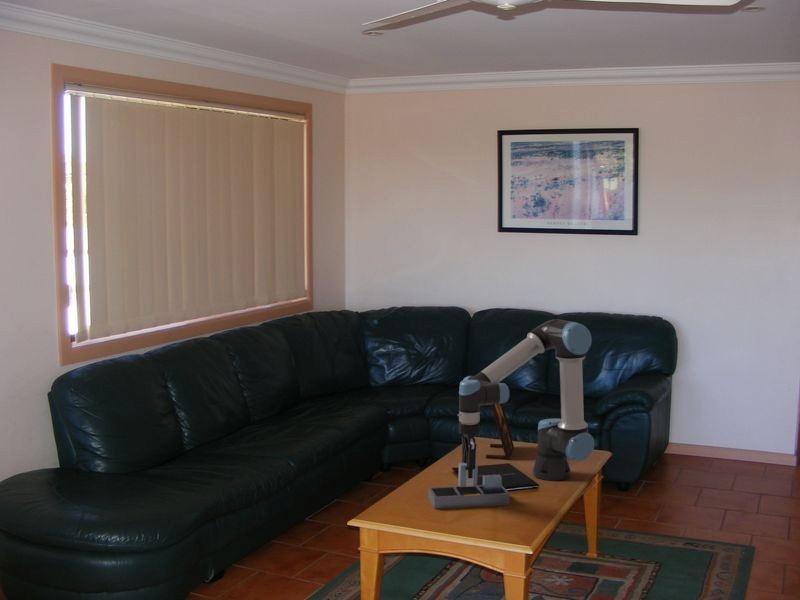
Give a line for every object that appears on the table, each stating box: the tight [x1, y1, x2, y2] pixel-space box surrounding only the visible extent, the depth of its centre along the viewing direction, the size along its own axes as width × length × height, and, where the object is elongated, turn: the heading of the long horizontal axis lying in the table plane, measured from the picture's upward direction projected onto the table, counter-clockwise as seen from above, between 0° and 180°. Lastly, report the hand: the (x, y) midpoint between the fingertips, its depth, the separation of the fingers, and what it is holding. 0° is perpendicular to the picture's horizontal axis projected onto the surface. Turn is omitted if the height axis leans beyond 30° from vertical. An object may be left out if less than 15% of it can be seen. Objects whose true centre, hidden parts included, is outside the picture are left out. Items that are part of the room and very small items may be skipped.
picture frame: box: [485, 403, 515, 461], centre depth 399 cm, size 21×11×30 cm, turn 168°
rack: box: [427, 474, 510, 510], centre depth 335 cm, size 28×11×9 cm, turn 99°
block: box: [457, 462, 479, 487], centre depth 335 cm, size 6×3×8 cm, turn 99°
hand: (468, 484), depth 335 cm, fingers closed on block, 3 cm apart
